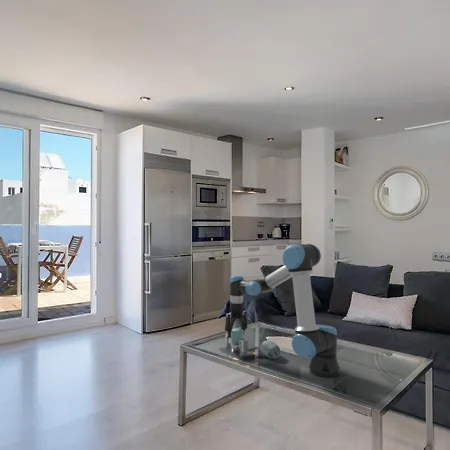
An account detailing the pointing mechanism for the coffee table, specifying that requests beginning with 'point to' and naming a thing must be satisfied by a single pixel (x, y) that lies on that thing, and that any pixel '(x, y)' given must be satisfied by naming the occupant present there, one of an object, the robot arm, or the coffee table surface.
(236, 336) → the cap
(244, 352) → the grey metal fixture
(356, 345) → the coffee table surface
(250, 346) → the pad
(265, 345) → the grey green ovoid
